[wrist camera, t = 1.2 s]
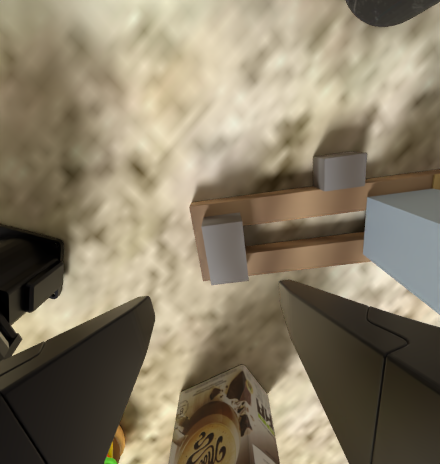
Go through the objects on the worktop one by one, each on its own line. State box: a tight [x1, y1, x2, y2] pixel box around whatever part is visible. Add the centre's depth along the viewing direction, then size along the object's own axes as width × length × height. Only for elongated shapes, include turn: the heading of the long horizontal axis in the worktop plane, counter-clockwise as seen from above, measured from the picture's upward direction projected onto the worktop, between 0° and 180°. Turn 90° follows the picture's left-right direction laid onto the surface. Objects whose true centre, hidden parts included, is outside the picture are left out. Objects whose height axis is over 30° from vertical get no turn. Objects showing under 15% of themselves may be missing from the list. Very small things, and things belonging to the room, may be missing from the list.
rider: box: [363, 189, 440, 315], centre depth 16 cm, size 5×5×11 cm
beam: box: [189, 152, 440, 285], centre depth 19 cm, size 24×9×4 cm, turn 98°
